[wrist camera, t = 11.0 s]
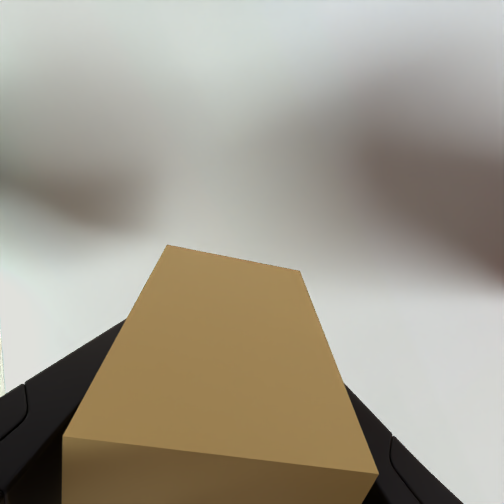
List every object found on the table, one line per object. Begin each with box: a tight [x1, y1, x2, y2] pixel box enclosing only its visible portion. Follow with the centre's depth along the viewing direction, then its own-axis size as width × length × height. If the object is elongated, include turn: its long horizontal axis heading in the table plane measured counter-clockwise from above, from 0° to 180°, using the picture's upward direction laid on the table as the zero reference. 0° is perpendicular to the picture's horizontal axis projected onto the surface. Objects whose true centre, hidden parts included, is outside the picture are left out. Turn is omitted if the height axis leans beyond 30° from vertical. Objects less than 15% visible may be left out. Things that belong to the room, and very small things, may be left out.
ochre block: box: [62, 245, 379, 504], centre depth 8 cm, size 4×4×6 cm
